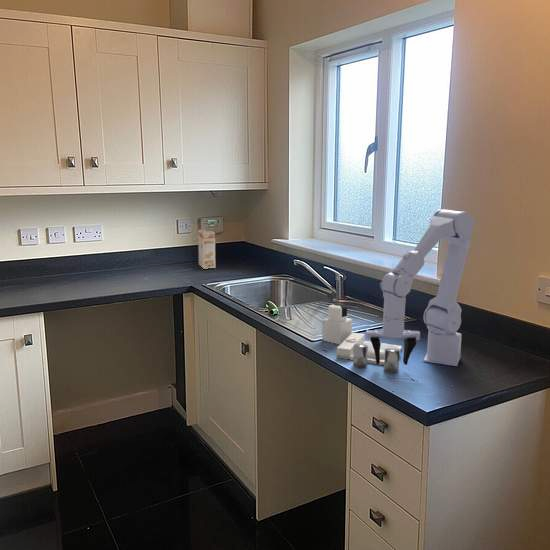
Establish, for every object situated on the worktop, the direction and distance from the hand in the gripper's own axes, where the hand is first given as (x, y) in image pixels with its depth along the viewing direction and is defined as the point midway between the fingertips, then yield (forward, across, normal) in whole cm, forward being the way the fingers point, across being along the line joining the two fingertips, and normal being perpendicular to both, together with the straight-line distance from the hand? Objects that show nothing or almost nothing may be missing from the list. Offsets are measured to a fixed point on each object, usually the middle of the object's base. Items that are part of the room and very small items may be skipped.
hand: (391, 363), depth 157 cm
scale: (+2, +4, -14) cm, 14 cm away
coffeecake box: (+2, +73, -144) cm, 161 cm away
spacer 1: (+2, +8, -4) cm, 9 cm away
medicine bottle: (+2, +13, -26) cm, 29 cm away
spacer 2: (+2, 0, 0) cm, 2 cm away
